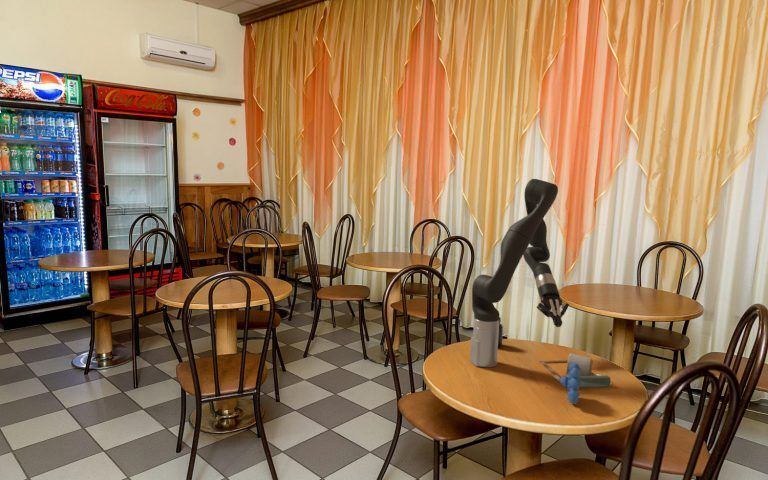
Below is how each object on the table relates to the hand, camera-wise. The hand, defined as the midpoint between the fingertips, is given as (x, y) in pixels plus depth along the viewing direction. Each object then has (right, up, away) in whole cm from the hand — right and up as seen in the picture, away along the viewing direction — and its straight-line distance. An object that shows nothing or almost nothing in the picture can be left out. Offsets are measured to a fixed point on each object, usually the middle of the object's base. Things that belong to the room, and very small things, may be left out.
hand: (559, 326), depth 185 cm
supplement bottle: (-21, -12, +19) cm, 30 cm away
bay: (+1, -15, -10) cm, 18 cm away
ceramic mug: (+3, -16, -11) cm, 19 cm away
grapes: (-8, -18, -31) cm, 37 cm away
